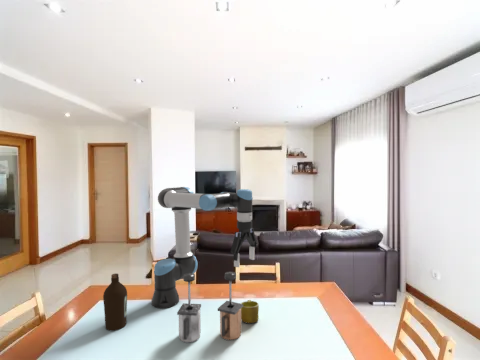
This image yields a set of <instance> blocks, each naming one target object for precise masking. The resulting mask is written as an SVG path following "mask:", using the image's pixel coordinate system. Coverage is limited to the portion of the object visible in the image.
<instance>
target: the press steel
mask: <svg viewBox="0 0 480 360" xmlns="http://www.w3.org/2000/svg"><path fill="white" fill-rule="evenodd" d="M201 308H202V303H191V310H188V303H182V304H181V306H180V307H179V309H178V310H177V312H176V313H177V314H176V315H177V316H178V337H179V340H180V341H181V342H183V343H186V344H187V343H189V344H190V343H194V342H197V341H198V340H199V339H200V338H201V334H202V333H201V331H202V329H201V321H202V320H201Z"/></svg>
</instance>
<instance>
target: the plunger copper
mask: <svg viewBox="0 0 480 360" xmlns="http://www.w3.org/2000/svg"><path fill="white" fill-rule="evenodd" d="M236 277H237V274H236V272H235V271H226V272H224V279H225V280H227V281H228V283H229V285H228V286H229V287H228V289H229V290H228V293H229V294H228V297H229V299H228V301H229V308H232V302H233V300H232V298H233V297H232V296H233V295H232V292H233V291H232V286H233V285H232V284H233V283H232V281H235V280H236Z"/></svg>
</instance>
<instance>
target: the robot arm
mask: <svg viewBox="0 0 480 360" xmlns="http://www.w3.org/2000/svg"><path fill="white" fill-rule="evenodd" d="M253 198H254V197H253V191H252V190H251V189H249V188H247V189H245V188H241V189H238V190H237V191H236V192H230V191H229V192H228V191H222V192H219V193H197V192H194V191H193V190H192V189H191V188H190V187H185V186H180V187H179V186H177V187H166V188H164V189H162V190H160V191H159V193H158V196H157V202H158V205H160V207H162V208H166V209H171V211H172V212H173V213H174V234H175V235H174V236H175V253H174V254H173V258H164V259H161V260H159V261H157V262H156V263H155V264H154V268H153V269H154V270H153V275H154V276H153V277H154V281H153V283H154V291H153V294H152V298H151V306H152V307H153V308H157V309H168V308H171V307H172V308H173V307H174V306H176V305H178V304H179V303H180V296H179V293H178V290H177V288H176V287H177V283H176V281H177V282H178V281H179V280H183V275H184V274H187V273H193V274H195V273H196V272H197V270H198V263H199V262H198V260H197V257H196V256H195V255H194V253H193V252H192V251H191V231H190V230H191V228H190V211H191V210H192V209H201V210H203V211H204V212H206V211H213V210H214V211H215V210H219V209H225V208H226V209H227V208H236V220H237V221H236V228H237V229H238V232H236V231H235V232H234V237H233V240H232V241H233V242H232V245H231V249H230V253H232V254H233V267H235V268H240V253H239V252H240V250H241V247H242V245H243V243H244V242H245V241H246V240H247V242H248V244H249V252H248V253H249V254H248V255H249V257H248V259H249V260H252V261H254V260H255V257H256V256H255V255H256V254H255V251H256V250H255V248H256V247H257V245H258V241H257V238H256V234H255V229H254V227H253Z"/></svg>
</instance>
